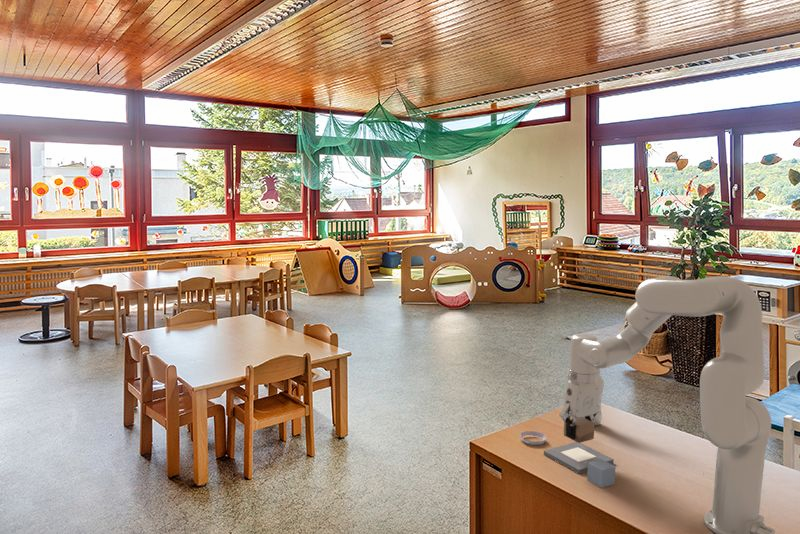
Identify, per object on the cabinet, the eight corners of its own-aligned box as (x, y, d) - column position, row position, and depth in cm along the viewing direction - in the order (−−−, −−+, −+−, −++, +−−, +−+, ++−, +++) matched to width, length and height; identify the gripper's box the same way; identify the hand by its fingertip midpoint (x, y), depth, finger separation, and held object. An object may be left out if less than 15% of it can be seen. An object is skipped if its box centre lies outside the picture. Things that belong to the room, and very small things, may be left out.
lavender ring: (550, 442, 186) (551, 436, 186) (536, 449, 181) (536, 443, 181) (529, 434, 192) (529, 429, 192) (515, 441, 187) (515, 435, 187)
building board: (613, 463, 172) (613, 458, 171) (578, 473, 165) (579, 469, 165) (577, 445, 184) (577, 440, 184) (543, 454, 177) (543, 450, 177)
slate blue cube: (614, 483, 160) (615, 466, 159) (601, 488, 157) (602, 470, 157) (599, 476, 164) (600, 458, 163) (587, 480, 162) (588, 462, 161)
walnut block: (593, 438, 172) (594, 422, 172) (578, 442, 170) (579, 426, 169) (578, 431, 178) (579, 415, 177) (563, 435, 175) (564, 419, 174)
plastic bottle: (587, 418, 205) (590, 363, 203) (605, 424, 200) (608, 367, 198) (577, 423, 201) (580, 366, 199) (594, 429, 196) (598, 371, 194)
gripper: (570, 384, 164) (566, 446, 166) (613, 376, 172) (609, 434, 175) (550, 377, 170) (547, 436, 173) (593, 369, 179) (589, 425, 181)
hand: (578, 434), depth 174 cm, fingers closed on walnut block, 6 cm apart
